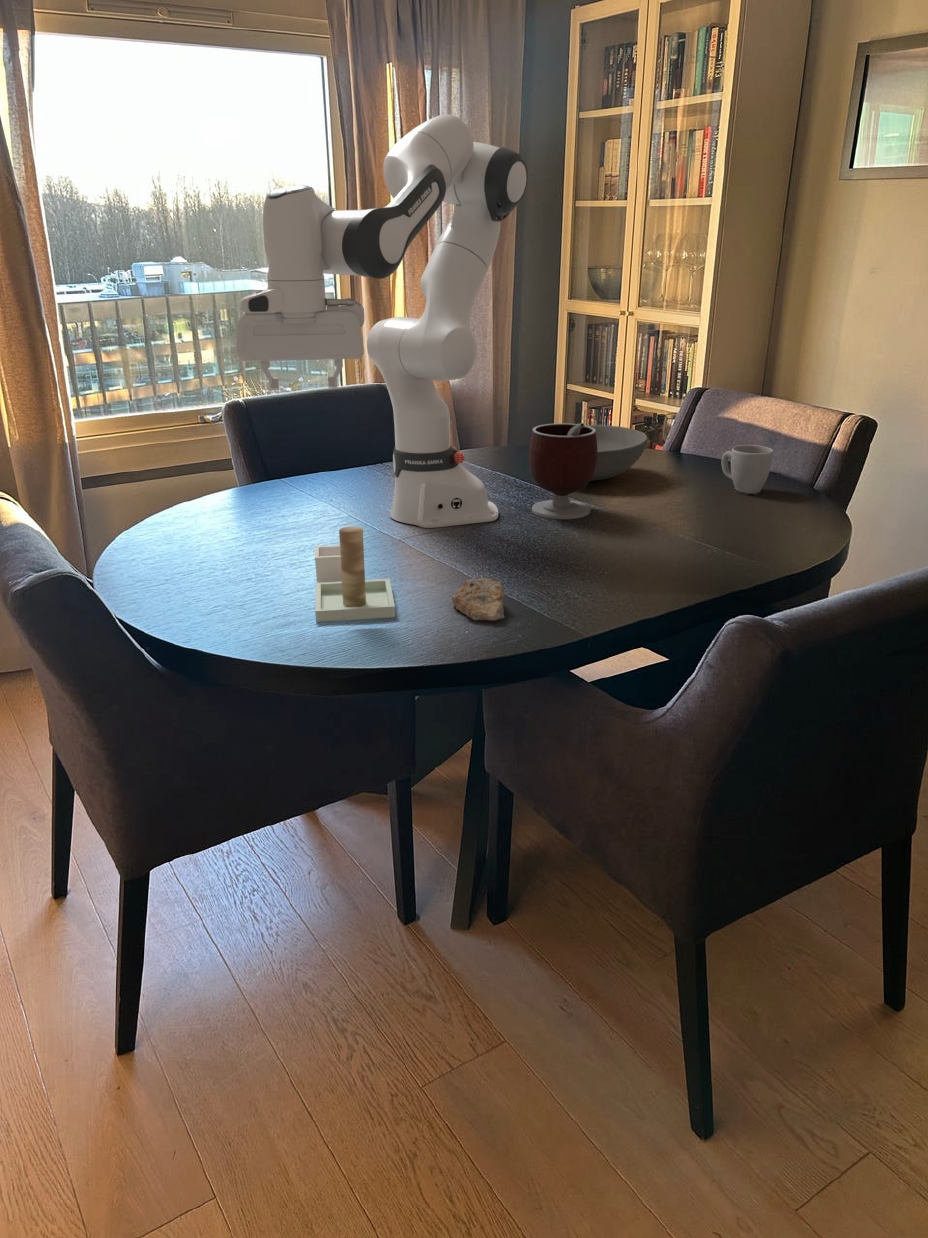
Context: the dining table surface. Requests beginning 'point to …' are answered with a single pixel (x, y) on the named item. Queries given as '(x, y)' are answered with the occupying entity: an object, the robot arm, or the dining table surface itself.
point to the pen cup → (328, 563)
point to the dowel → (352, 566)
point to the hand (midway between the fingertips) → (303, 388)
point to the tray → (334, 609)
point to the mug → (748, 466)
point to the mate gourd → (562, 466)
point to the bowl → (616, 449)
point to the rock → (480, 599)
